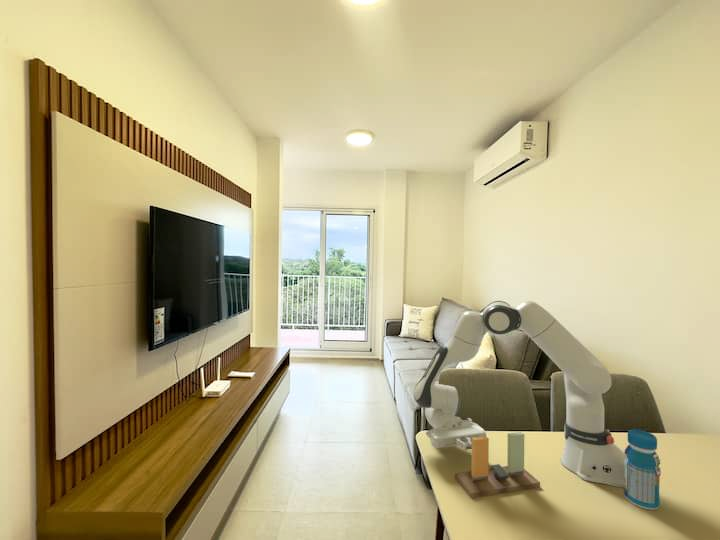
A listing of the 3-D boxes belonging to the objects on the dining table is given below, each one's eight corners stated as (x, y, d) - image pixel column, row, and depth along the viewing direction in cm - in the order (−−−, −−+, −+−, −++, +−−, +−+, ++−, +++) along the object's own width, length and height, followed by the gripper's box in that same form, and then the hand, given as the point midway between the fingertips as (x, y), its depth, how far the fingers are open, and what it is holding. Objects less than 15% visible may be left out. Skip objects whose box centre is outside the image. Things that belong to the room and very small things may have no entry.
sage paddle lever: (521, 471, 113) (521, 431, 112) (524, 474, 111) (524, 434, 111) (507, 473, 111) (507, 433, 111) (510, 476, 110) (510, 435, 110)
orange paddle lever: (485, 477, 110) (486, 436, 110) (488, 480, 108) (488, 438, 108) (471, 479, 109) (471, 437, 109) (473, 482, 107) (474, 440, 107)
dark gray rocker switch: (498, 469, 113) (499, 464, 113) (508, 481, 108) (509, 475, 108) (490, 471, 112) (490, 465, 112) (499, 483, 107) (500, 476, 107)
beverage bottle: (636, 510, 97) (636, 440, 97) (617, 490, 106) (617, 426, 105) (668, 512, 96) (669, 442, 96) (646, 492, 105) (646, 428, 105)
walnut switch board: (518, 468, 117) (518, 464, 117) (540, 487, 107) (540, 482, 107) (455, 477, 112) (455, 473, 112) (471, 497, 102) (471, 493, 102)
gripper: (424, 422, 127) (440, 441, 113) (473, 417, 131) (495, 434, 117) (424, 439, 127) (440, 460, 113) (473, 433, 131) (495, 453, 117)
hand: (468, 447), depth 115 cm, fingers closed
